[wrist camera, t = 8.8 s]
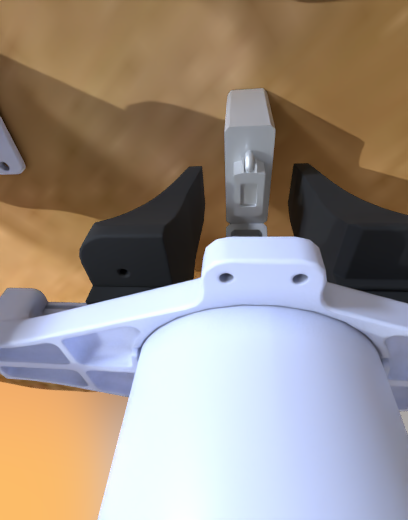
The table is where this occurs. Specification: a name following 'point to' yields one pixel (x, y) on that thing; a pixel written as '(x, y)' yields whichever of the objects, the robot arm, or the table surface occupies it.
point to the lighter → (248, 161)
